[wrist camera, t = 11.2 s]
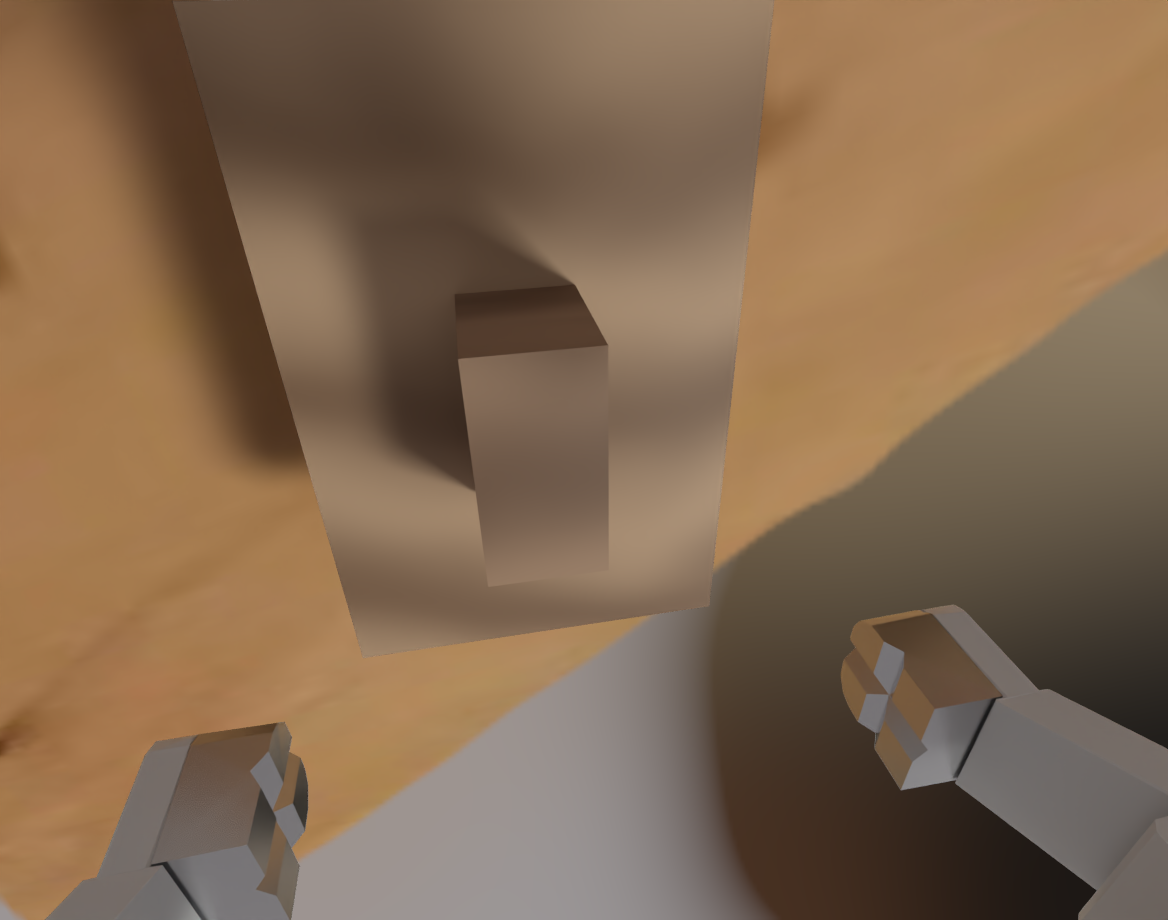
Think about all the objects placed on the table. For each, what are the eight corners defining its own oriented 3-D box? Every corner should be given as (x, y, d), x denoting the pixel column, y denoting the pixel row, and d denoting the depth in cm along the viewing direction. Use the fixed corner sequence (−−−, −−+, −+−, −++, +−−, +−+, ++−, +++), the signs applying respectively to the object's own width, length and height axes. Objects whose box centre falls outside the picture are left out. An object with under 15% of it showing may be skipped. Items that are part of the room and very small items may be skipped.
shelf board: (196, 4, 14) (75, -14, 9) (748, -6, 15) (877, -25, 11) (367, 625, 23) (349, 767, 19) (695, 577, 25) (752, 697, 21)
